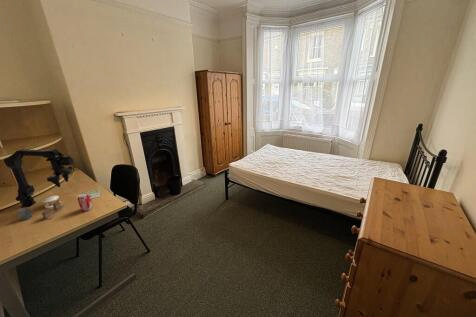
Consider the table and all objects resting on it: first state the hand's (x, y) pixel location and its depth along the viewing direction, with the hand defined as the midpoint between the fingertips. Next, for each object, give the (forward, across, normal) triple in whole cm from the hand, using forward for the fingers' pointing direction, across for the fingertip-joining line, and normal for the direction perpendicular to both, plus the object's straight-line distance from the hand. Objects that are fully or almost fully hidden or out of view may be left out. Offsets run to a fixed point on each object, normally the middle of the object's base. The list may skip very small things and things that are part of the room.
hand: (63, 184), depth 149 cm
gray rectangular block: (+15, -20, +15) cm, 29 cm away
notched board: (+14, -16, +1) cm, 22 cm away
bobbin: (+14, -5, +8) cm, 17 cm away
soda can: (+14, -17, -21) cm, 30 cm away
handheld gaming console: (+15, +5, -14) cm, 21 cm away
